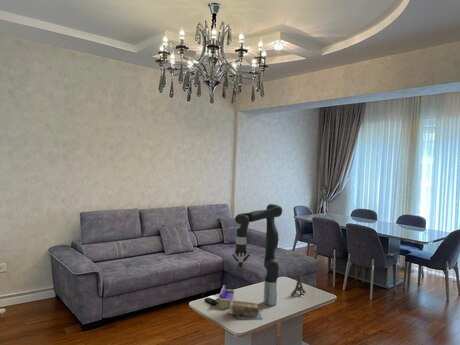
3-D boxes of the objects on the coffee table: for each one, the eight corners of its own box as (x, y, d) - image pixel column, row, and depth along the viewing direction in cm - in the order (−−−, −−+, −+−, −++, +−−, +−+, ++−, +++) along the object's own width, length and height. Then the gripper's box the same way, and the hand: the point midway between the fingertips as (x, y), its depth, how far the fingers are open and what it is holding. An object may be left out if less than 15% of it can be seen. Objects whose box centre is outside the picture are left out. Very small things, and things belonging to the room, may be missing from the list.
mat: (258, 310, 248) (258, 308, 248) (262, 319, 234) (262, 316, 234) (234, 310, 246) (234, 307, 246) (237, 319, 232) (237, 316, 232)
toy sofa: (230, 309, 248) (230, 295, 248) (218, 308, 249) (218, 294, 249) (233, 298, 269) (234, 285, 269) (223, 297, 270) (223, 284, 270)
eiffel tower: (290, 294, 282) (291, 264, 282) (295, 291, 291) (296, 261, 291) (302, 297, 277) (304, 266, 276) (307, 294, 286) (308, 264, 285)
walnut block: (230, 308, 243) (255, 311, 244) (231, 313, 235) (257, 316, 236) (231, 300, 243) (256, 303, 244) (232, 305, 235) (258, 307, 236)
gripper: (249, 241, 247) (248, 265, 248) (231, 241, 245) (230, 265, 246) (251, 244, 240) (250, 268, 240) (232, 243, 238) (231, 268, 238)
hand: (240, 267), depth 243 cm, fingers closed
